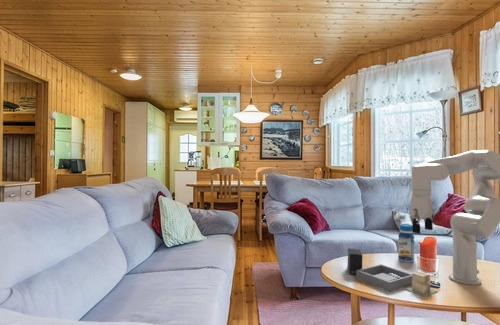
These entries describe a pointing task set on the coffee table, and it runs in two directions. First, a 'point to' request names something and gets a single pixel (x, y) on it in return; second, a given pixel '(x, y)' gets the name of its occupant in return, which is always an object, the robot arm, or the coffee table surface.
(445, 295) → the coffee table surface
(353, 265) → the small box
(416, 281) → the birch block
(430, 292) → the mat
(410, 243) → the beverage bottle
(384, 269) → the gray square tray
